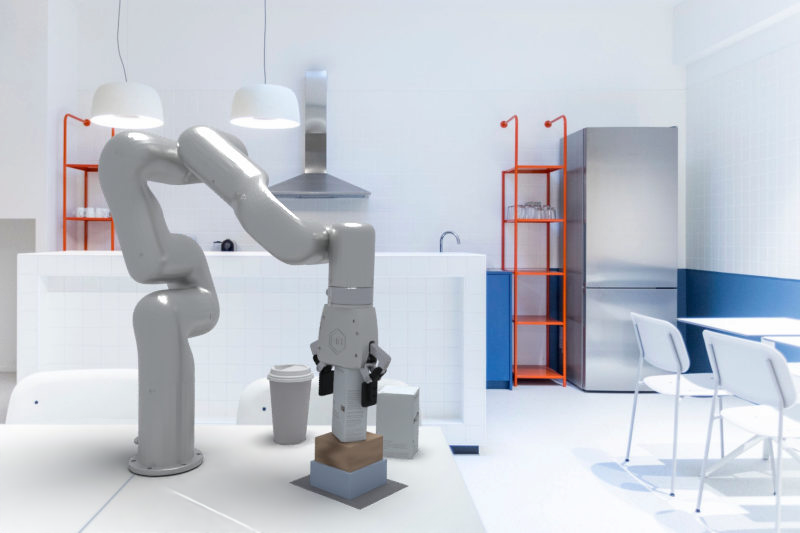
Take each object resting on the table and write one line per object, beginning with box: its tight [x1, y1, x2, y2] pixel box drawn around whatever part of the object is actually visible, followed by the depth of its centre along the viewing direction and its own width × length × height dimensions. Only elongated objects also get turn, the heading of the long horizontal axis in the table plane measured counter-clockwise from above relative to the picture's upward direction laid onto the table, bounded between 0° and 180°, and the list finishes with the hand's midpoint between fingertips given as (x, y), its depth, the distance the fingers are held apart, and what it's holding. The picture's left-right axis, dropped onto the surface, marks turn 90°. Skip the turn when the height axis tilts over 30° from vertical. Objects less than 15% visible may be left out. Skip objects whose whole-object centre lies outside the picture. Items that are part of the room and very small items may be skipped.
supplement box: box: [375, 384, 420, 460], centre depth 117 cm, size 7×7×13 cm
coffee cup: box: [266, 363, 315, 446], centre depth 124 cm, size 10×10×15 cm
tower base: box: [309, 457, 388, 500], centre depth 101 cm, size 9×9×4 cm
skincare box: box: [331, 366, 370, 442], centre depth 100 cm, size 6×4×12 cm
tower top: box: [314, 430, 384, 473], centre depth 101 cm, size 8×8×4 cm
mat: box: [288, 474, 409, 510], centre depth 101 cm, size 16×12×1 cm
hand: (347, 400), depth 100 cm, fingers open, 9 cm apart
